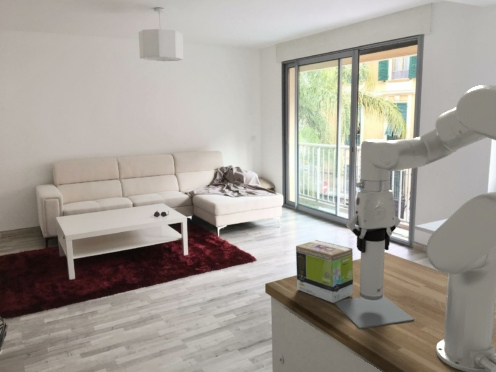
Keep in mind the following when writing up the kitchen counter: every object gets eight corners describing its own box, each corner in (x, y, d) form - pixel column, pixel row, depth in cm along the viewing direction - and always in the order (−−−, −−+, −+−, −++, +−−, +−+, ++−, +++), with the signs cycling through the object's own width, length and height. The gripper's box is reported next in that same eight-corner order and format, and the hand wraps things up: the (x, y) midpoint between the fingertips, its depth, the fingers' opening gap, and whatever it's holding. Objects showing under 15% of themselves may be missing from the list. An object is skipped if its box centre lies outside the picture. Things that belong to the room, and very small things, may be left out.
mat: (414, 320, 111) (414, 319, 111) (359, 328, 108) (359, 327, 107) (382, 295, 126) (382, 294, 126) (333, 302, 123) (333, 301, 123)
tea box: (354, 294, 127) (353, 247, 125) (332, 304, 121) (331, 255, 118) (317, 281, 138) (316, 238, 136) (295, 289, 132) (294, 245, 130)
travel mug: (385, 301, 113) (388, 230, 109) (360, 299, 114) (362, 229, 111) (382, 291, 119) (385, 224, 115) (358, 290, 120) (360, 223, 117)
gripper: (351, 190, 105) (350, 257, 108) (411, 185, 109) (409, 251, 112) (338, 185, 113) (337, 248, 116) (395, 181, 116) (393, 243, 119)
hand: (373, 249), depth 114 cm, fingers closed on travel mug, 6 cm apart
